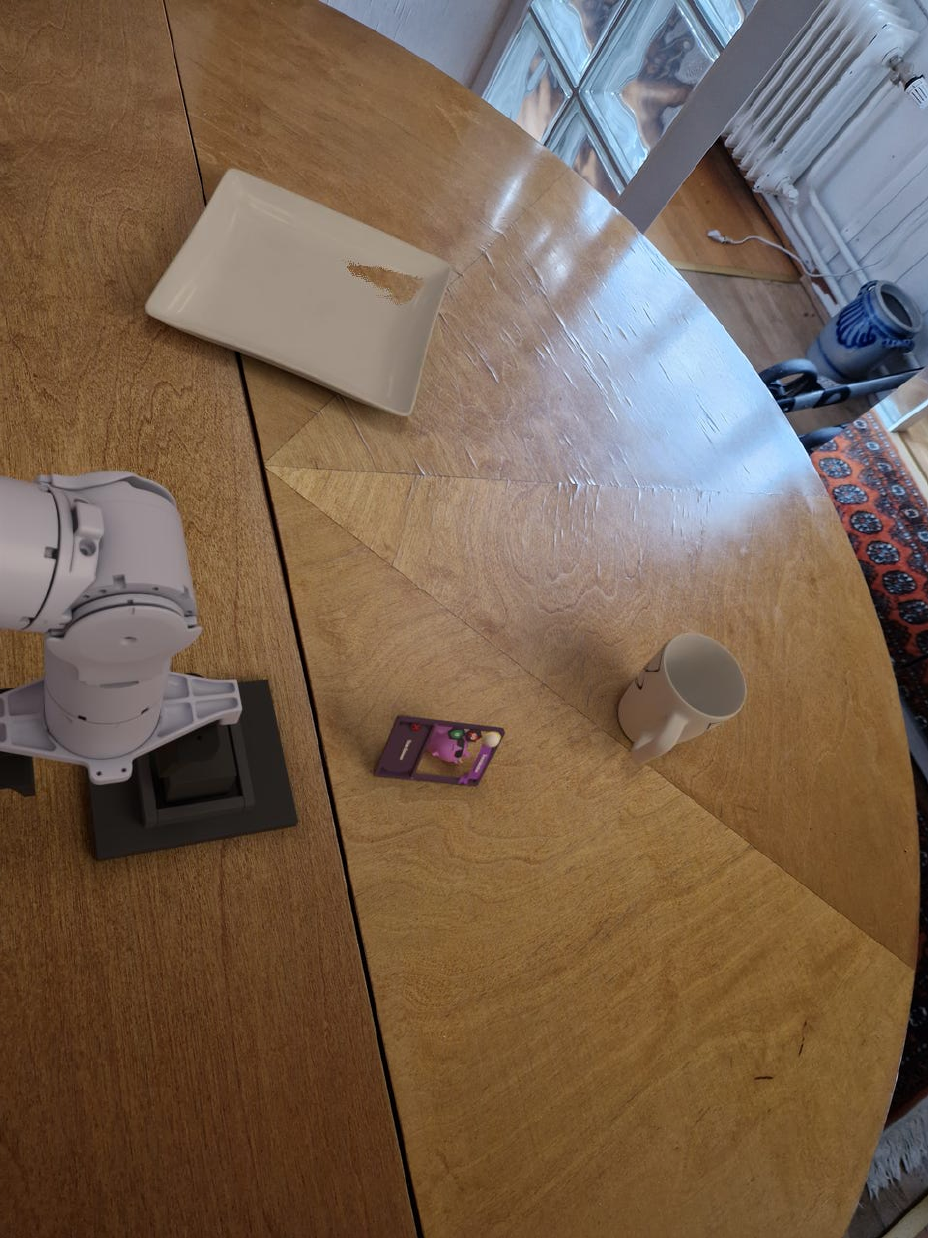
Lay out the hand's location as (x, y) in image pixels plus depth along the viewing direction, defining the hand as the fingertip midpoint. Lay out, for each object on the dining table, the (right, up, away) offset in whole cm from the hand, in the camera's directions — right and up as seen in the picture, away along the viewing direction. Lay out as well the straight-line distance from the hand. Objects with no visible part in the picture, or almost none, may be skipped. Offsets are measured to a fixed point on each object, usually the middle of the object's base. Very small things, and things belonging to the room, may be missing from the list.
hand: (97, 771), depth 55 cm
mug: (+39, -1, +29) cm, 49 cm away
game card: (+19, -2, +20) cm, 28 cm away
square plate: (+6, +43, +42) cm, 60 cm away
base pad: (+2, -2, +12) cm, 12 cm away
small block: (+2, -1, +11) cm, 11 cm away
